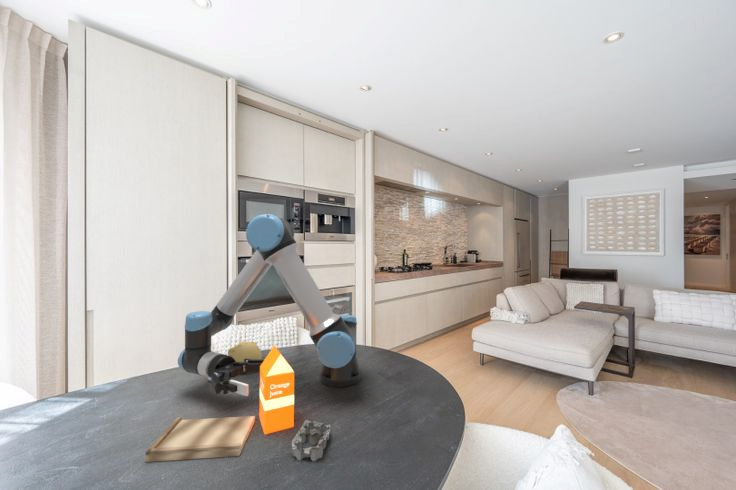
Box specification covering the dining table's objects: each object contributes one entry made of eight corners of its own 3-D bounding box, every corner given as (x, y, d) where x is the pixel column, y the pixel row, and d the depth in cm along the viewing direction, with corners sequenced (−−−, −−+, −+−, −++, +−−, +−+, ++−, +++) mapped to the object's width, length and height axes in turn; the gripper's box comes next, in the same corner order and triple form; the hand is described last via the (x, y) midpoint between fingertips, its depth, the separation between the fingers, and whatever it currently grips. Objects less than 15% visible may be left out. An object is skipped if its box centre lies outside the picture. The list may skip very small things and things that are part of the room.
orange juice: (264, 434, 78) (264, 356, 78) (258, 417, 86) (259, 346, 86) (294, 426, 82) (295, 351, 82) (286, 411, 89) (287, 342, 90)
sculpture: (249, 361, 128) (250, 336, 128) (267, 368, 121) (267, 341, 121) (223, 370, 119) (223, 342, 119) (240, 378, 112) (241, 348, 112)
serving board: (254, 421, 84) (255, 413, 84) (239, 455, 70) (239, 445, 70) (177, 425, 82) (177, 417, 82) (145, 462, 68) (145, 451, 68)
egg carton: (319, 464, 68) (320, 445, 68) (288, 460, 69) (288, 442, 69) (333, 435, 78) (333, 419, 78) (305, 432, 79) (305, 416, 79)
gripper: (249, 365, 106) (297, 377, 96) (176, 395, 84) (228, 415, 74) (250, 343, 106) (297, 353, 96) (176, 368, 84) (228, 384, 74)
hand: (267, 380), depth 85 cm, fingers open, 13 cm apart
